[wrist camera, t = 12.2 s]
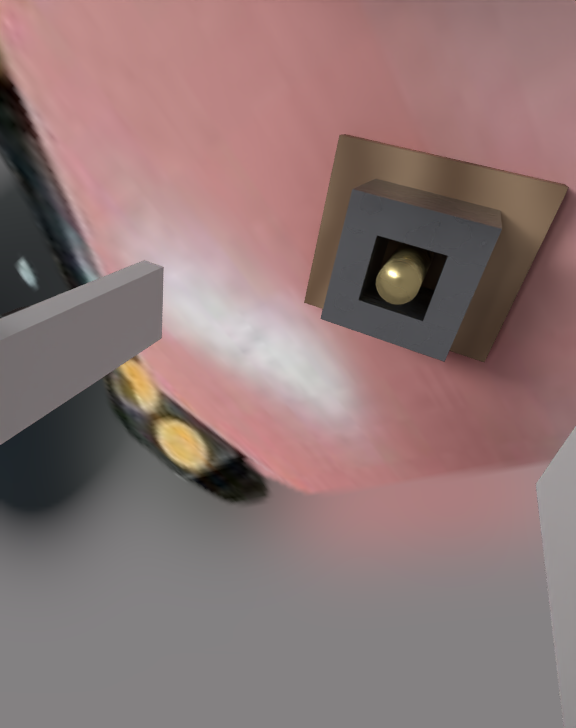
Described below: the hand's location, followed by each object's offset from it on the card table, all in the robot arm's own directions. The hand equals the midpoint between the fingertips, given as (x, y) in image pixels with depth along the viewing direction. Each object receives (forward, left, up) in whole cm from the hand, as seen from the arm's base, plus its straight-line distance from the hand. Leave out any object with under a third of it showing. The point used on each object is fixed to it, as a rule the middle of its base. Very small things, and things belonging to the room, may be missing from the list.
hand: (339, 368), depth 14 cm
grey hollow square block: (0, -1, -20) cm, 20 cm away
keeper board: (0, -1, -21) cm, 21 cm away
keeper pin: (0, -1, -20) cm, 20 cm away
